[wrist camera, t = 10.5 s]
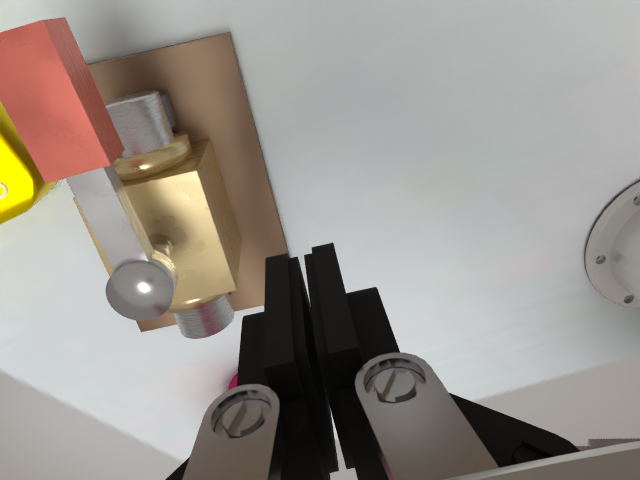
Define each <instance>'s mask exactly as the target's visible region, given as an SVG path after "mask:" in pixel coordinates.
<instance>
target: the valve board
mask: <svg viewBox="0 0 640 480" xmlns="http://www.w3.org/2000/svg"><path fill="white" fill-rule="evenodd" d="M87 67H88V69H89V71H90V74H91V76H92V78H93V80H94V82H95V85H96V87H97V89H98V91H99V94H100V96H101V98H102V100H103V102H105V101H108V100H111V99H115V98H118V97H122V96H126V95H130V94H134V93H139V92H144V91H152V90H157V91H158V92H159V93H162V92H167V91H168V92H169V95H170V98H171V101H172V104H173V106H174V109H175V112H176V115H177V118H178V123H177V124H176V126H175V127H172V128H171V129H172V131H183V132H186V133H187V135H188V138H189V141H190V142H193V141H197V140H202V139H206V138H211V142H212V145H213V148H214V151H215V155H216V158H217V161H218V164H219V167H220V171H221V174H222V177H223V180H224V184H225V187H226V190H227V193H228V196H229V200H230V203H231V206H232V209H233V213H234V216H235V219H236V222H237V225H238V229H239V232H240V235H241V238H242V246H241V255H240V264H239V272H238V281H237V290H236V291H232V295H229V298H230V301H231V304H232V306H233V309H234V311H239V310H243V309H248V308H253V307H257V306H262V305H264V304H265V259H266V258H267V257H271V256H276V255H280V254H285V253H288V255H289V252H288V248H287V245H286V241H285V237H284V233H283V229H282V226H281V222H280V218H279V214H278V211H277V207H276V203H275V199H274V196H273V192H272V188H271V184H270V180H269V177H268V173H267V169H266V165H265V162H264V158H263V154H262V150H261V147H260V143H259V139H258V135H257V131H256V128H255V124H254V120H253V116H252V113H251V109H250V105H249V101H248V97H247V94H246V90H245V86H244V82H243V79H242V75H241V71H240V67H239V64H238V60H237V56H236V52H235V48H234V45H233V41H232V37H231V33H230V32H229V33H224V34H220V35H216V36H211V37H207V38H202V39H198V40H194V41H189V42H185V43H181V44H176V45H172V46H167V47H163V48H159V49H154V50H150V51H145V52H141V53H137V54H132V55H128V56H124V57H119V58H115V59H110V60H106V61H102V62H97V63H93V64H89V65H87ZM289 258H290V256H289ZM136 322H137V324H138V326H139V328H140V330H141V332H144V331H149V330H153V329H158V328H162V327H167V326H171V325H176V324H177V322H176V319H175V317H174V315H173V313H168V312H165V313H164V314H163V315H161V316H160V317H158V318H155V319H152V320H146V321H138V320H136Z"/></svg>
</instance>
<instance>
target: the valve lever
mask: <svg viewBox="0 0 640 480" xmlns="http://www.w3.org/2000/svg"><path fill="white" fill-rule="evenodd" d="M0 101H1V103H2V104H3V106H4V108H5V110H6V112H7V114H8V115H9V117H10V119H11V121H12V123H13V124H14V126H15V128H16V130H17V132H18V134H19V135H20V137H21V139H22V141H23V143H24V145H25V146H26V148H27V150H28V152H29V154H30V155H31V157H32V159H33V161H34V163H35V165H36V166H37V168H38V170H39V172H40V174H41V176H42V177H43V179H44V181H45V183H50V182H53V181H57V180H60V179H64V178H65V179H66V180H67V182H68V184H69V186H70V188H71V190H72V192H73V194H74V196H75V198H76V199H77V201H78V203H79V205H80V207H81V209H82V211H83V213H84V215H85V217H86V218H87V220H88V222H89V224H90V226H91V228H92V230H93V232H94V234H95V236H96V237H97V239H98V241H99V243H100V245H101V247H102V249H103V251H104V253H105V255H106V257H107V258H108V260H109V262H110V264H111V266H112V268H113V270H114V271H113V273H112V275H111V277H110V278H109V280H108V282H107V285H106V296H107V300H108V302H109V303H110V305H111V306H112V308H113V309H114V310H115V311H116V312H118V313H119V314H121V315H122V316H124V317H126V318H129V319H133V320H138V321H146V320H152V319H155V318H158V317H160V316H161V315H163V314H164V313H165V312H166V311H167V310H168V309H169V307H170V305H171V303H172V300H173V297H174V293H175V290H176V287H177V284H178V271H177V269H176V266H175V265H174V263H173V262H172V261H171V260H170V259H169V258H168V257H167V256H165V255H164V254H162V253H160V252H158V251H155V250H153V248H152V246H151V244H150V241H149V239H148V237H147V235H146V233H145V231H144V229H143V227H142V224H141V222H140V220H139V218H138V216H137V214H136V212H135V210H134V208H133V205H132V203H131V201H130V199H129V197H128V195H127V193H126V191H125V188H124V186H123V184H122V182H121V180H120V178H119V176H118V174H117V171H116V169H115V167H114V165H113V162H114V161H115V160H116V159H117V158H118V157H119V156H120V155H121V154H122V152H123V151H124V150H125V149H124V146H123V144H122V142H121V140H120V138H119V135H118V133H117V131H116V129H115V127H114V124H113V122H112V120H111V118H110V116H109V113H108V111H107V109H106V107H105V105H104V102H103V100H102V98H101V96H100V94H99V91H98V89H97V87H96V85H95V82H94V80H93V78H92V76H91V74H90V71H89V69H88V67H87V65H86V63H85V60H84V58H83V56H82V54H81V52H80V49H79V47H78V45H77V43H76V41H75V38H74V36H73V34H72V32H71V30H70V27H69V25H68V23H67V21H66V19H65V17H64V18H57V19H49V20H42V21H38V22H35V23H31V24H28V25H25V26H21V27H18V28H14V29H11V30H8V31H4V32H1V33H0Z"/></svg>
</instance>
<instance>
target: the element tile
mask: <svg viewBox="0 0 640 480" xmlns="http://www.w3.org/2000/svg"><path fill="white" fill-rule="evenodd" d="M57 182H58V180H57V181H53V182H50V183H45V181H44V179H43V177H42V176H41V174H40V172H39V170H38V168H37V166H36V165H35V163H34V161H33V159H32V157H31V155H30V154H29V152H28V150H27V148H26V146H25V145H24V143H23V141H22V139H21V137H20V135H19V134H18V132H17V130H16V128H15V126H14V124H13V123H12V121H11V119H10V117H9V115H8V114H7V112H6V110H5V108H4V106H3V104H2V103H1V101H0V224H2V223H4V222H6V221H8V220H10V219H12V218H14V217H16V216H18V215H20V214H22V213H25V212H27V211H28V210H29V209H30V208H32V207H33V206H34V205H35V204H36V203H37V202H38V201H39V200H40V199H41V198H43V197H44V196H45V195H46V194H47V193H48V192H49V191H50V190H51V189H53V187H54V186H55V185H56V183H57Z"/></svg>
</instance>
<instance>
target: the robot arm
mask: <svg viewBox="0 0 640 480" xmlns="http://www.w3.org/2000/svg"><path fill="white" fill-rule="evenodd" d="M304 258H305V266H306V274H307V282H308V290H309V297H310V302H309V298H308V295H307V291H306V287H305V283H304V279H303V275H302V271H301V267H300V263H299V260H298V257H294V258H289V255H288V253H285V254H280V255H276V256H271V257H267V258H266V259H265V304H264V312H260V313H256V314H251V315H247V316H244V317H243V320H242V330H241V342H240V353H239V365H238V376H237V387H235V388H233V389H231V390H229V391H226V392H225V393H223V394H222V395H221V396H219V397H218V398H216V399H215V401H214V402H213V403H212V404H211V405H210V406H209V407H208V409H207V411H206V413H205V415H204V417H203V420H202V423H201V426H200V429H199V432H198V435H197V438H196V441H195V444H194V447H193V450H192V452H191V455H190V457H189V458H188V459H187V460H186V461H185V462H184V463H183V464H182V465H181V466H180V467H178V468H177V469H176V470H175V471H174V472H173V473H172V474H171V475H170V476H169V477H168V478H167V479H166V480H330V473H332V472H336V471H339V468H338V461H337V453H336V447H335V439H334V432H333V425H332V418H331V412H332V416H333V419H334V423H335V427H336V431H337V435H338V438H339V442H340V446H341V450H342V453H343V457H344V461H345V465H346V468H347V469H350V468H355V470H356V473H357V478H358V480H640V439H639V438H637V439H588V446H574V445H573V444H572V443H571V442H570V441H568V440H566V439H564V438H562V437H560V436H558V435H556V434H554V433H551V432H549V431H546V430H543V429H541V428H538V427H536V426H533V425H531V424H528V423H526V422H523V421H520V420H518V419H515V418H513V417H510V416H507V415H505V414H502V413H500V412H497V411H494V410H492V409H489V408H487V407H484V406H482V405H479V404H477V403H474V402H471V401H469V400H466V399H464V398H461V397H459V396H456V395H453V394H451V393H448V391H447V390H446V388H445V387H444V385H443V384H442V382H441V381H440V380H439V378H438V377H437V375H436V374H435V372H434V371H433V369H432V368H431V367H430V365H429V364H428V363H427V362H426V361H425V360H423V359H421V358H419V357H417V356H415V355H412V354H407V353H400V351H399V348H398V345H397V343H396V340H395V337H394V334H393V331H392V329H391V326H390V323H389V320H388V317H387V315H386V312H385V309H384V306H383V303H382V301H381V298H380V295H379V292H378V290H377V288H376V287H373V288H369V289H364V290H360V291H355V292H350V293H346V292H345V288H344V284H343V280H342V276H341V272H340V268H339V264H338V260H337V256H336V252H335V248H334V244H333V243H330V244H325V245H321V246H316V247H312V254H307V255H304ZM585 262H586V270H587V273H588V276H589V279H590V281H591V282H592V284H593V285H594V286H595V288H596V289H597V290H598V291H599V292H600V293H601V294H602V295H603V296H605V297H606V298H607V299H609V300H610V301H612V302H614V303H615V304H618V305H621V306H624V307H631V308H640V182H638V183H637V184H635V185H633V186H631V187H630V188H629V189H627V190H626V191H625V192H623V193H622V194H621V195H620V196H618V197H617V198H616V199H615V200H614V201H613V202H612V203H611V204H610V205H609V206H608V207H607V208H606V210H605V211H604V212H603V214H602V215H601V217H600V218H599V219H598V221H597V222H596V224H595V226H594V228H593V230H592V232H591V234H590V237H589V241H588V244H587V247H586V257H585ZM310 305H311V306H310ZM330 408H331V411H330Z"/></svg>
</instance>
